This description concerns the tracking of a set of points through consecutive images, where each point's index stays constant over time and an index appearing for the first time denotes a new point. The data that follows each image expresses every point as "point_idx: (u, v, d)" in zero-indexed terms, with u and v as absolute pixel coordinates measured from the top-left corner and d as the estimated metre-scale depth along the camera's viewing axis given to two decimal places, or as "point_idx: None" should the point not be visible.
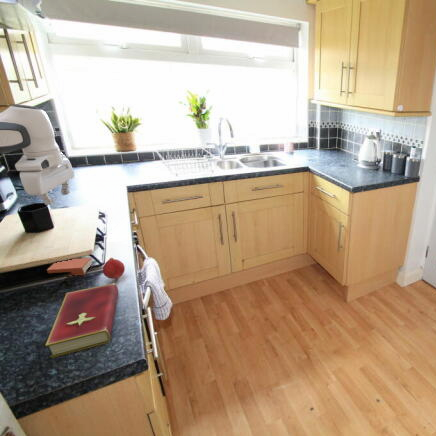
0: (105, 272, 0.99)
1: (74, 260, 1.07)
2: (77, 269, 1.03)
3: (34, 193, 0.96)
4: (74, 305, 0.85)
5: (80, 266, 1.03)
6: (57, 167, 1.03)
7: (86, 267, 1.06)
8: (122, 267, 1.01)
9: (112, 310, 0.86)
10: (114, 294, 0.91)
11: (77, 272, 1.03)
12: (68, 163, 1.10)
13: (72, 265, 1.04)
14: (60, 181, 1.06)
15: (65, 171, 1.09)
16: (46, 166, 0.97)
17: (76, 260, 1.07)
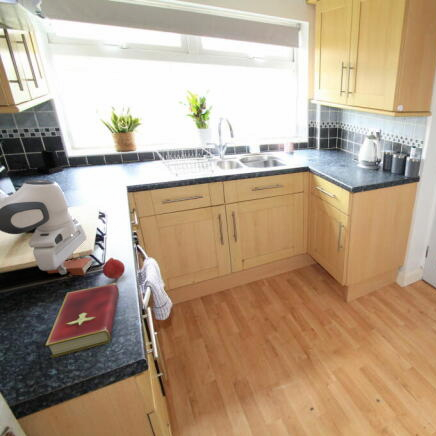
0: (105, 272, 0.99)
1: (74, 260, 1.07)
2: (77, 269, 1.03)
3: (47, 269, 0.94)
4: (75, 305, 0.85)
5: (80, 266, 1.04)
6: (70, 237, 1.01)
7: (86, 267, 1.06)
8: (122, 267, 1.01)
9: (112, 310, 0.86)
10: (114, 294, 0.91)
11: (77, 272, 1.03)
12: (80, 228, 1.09)
13: (72, 265, 1.04)
14: (73, 249, 1.04)
15: (77, 237, 1.07)
16: (60, 240, 0.96)
17: (76, 260, 1.07)
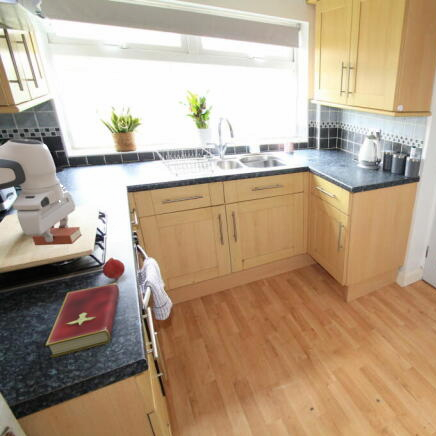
0: (105, 272, 0.99)
1: (62, 228, 1.01)
2: (65, 237, 0.98)
3: (32, 233, 0.89)
4: (75, 305, 0.85)
5: (68, 234, 0.98)
6: (57, 203, 0.96)
7: (74, 236, 1.01)
8: (122, 267, 1.01)
9: (112, 310, 0.86)
10: (115, 294, 0.91)
11: (64, 240, 0.98)
12: (69, 196, 1.04)
13: (60, 233, 0.99)
14: (60, 217, 0.99)
15: (66, 205, 1.02)
16: (46, 204, 0.91)
17: (64, 229, 1.01)
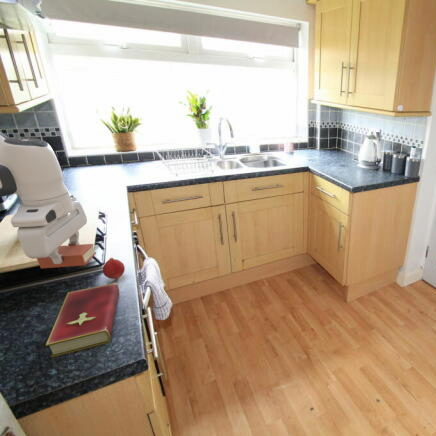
0: (105, 272, 0.99)
1: (72, 246, 0.84)
2: (76, 257, 0.80)
3: (37, 256, 0.72)
4: (75, 305, 0.85)
5: (80, 253, 0.81)
6: (66, 216, 0.78)
7: (87, 255, 0.83)
8: (122, 267, 1.01)
9: (113, 310, 0.86)
10: (115, 294, 0.91)
11: (76, 261, 0.81)
12: (79, 207, 0.86)
13: (70, 252, 0.82)
14: (70, 233, 0.81)
15: (76, 218, 0.84)
16: (52, 218, 0.73)
17: (74, 246, 0.84)
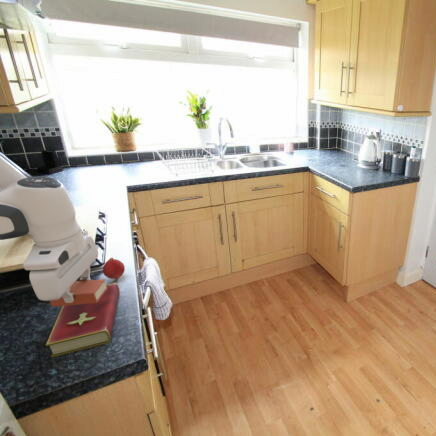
0: (105, 272, 0.99)
1: (83, 282, 0.82)
2: (88, 295, 0.79)
3: (49, 299, 0.70)
4: (76, 305, 0.85)
5: (91, 291, 0.79)
6: (78, 254, 0.77)
7: (99, 292, 0.82)
8: (122, 267, 1.01)
9: (113, 310, 0.86)
10: (115, 294, 0.91)
11: (88, 299, 0.79)
12: (91, 241, 0.85)
13: (82, 290, 0.80)
14: (82, 270, 0.80)
15: (87, 253, 0.83)
16: (65, 260, 0.71)
17: (86, 282, 0.83)
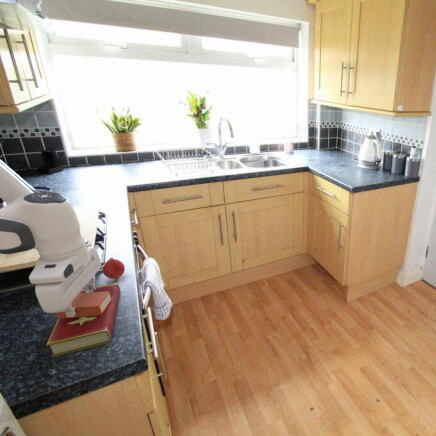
0: (105, 272, 0.99)
1: (88, 295, 0.84)
2: (93, 308, 0.80)
3: (54, 311, 0.72)
4: None
5: (97, 304, 0.81)
6: (82, 267, 0.78)
7: (104, 304, 0.83)
8: (122, 267, 1.01)
9: (113, 310, 0.86)
10: (116, 294, 0.91)
11: (93, 311, 0.81)
12: (94, 253, 0.86)
13: (87, 302, 0.82)
14: (85, 281, 0.81)
15: (91, 265, 0.84)
16: (70, 273, 0.73)
17: (91, 295, 0.84)
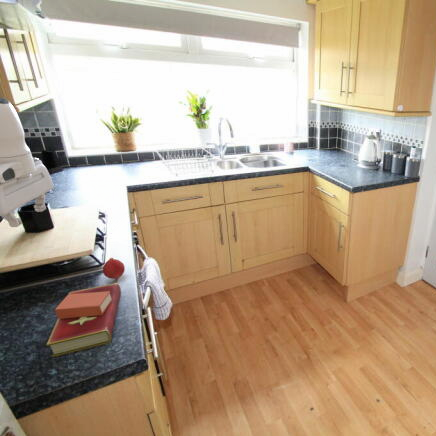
0: (105, 272, 0.99)
1: (89, 295, 0.84)
2: (93, 308, 0.80)
3: None
4: None
5: (97, 304, 0.81)
6: (27, 177, 0.78)
7: (104, 304, 0.83)
8: (122, 267, 1.01)
9: (114, 310, 0.86)
10: (116, 294, 0.91)
11: (93, 311, 0.81)
12: (44, 171, 0.86)
13: (87, 302, 0.82)
14: (32, 195, 0.81)
15: (40, 182, 0.84)
16: (10, 177, 0.72)
17: (91, 295, 0.84)
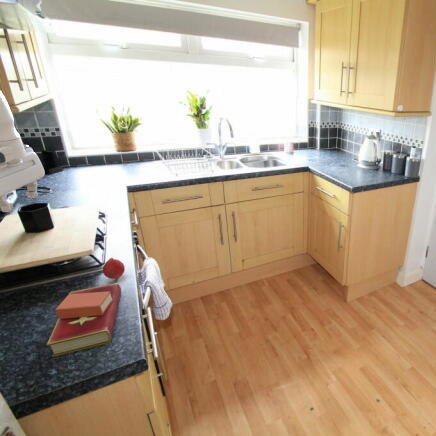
0: (105, 272, 0.99)
1: (89, 295, 0.84)
2: (94, 308, 0.80)
3: None
4: None
5: (98, 304, 0.81)
6: (18, 163, 0.79)
7: (105, 304, 0.83)
8: (122, 267, 1.01)
9: (114, 310, 0.86)
10: (117, 294, 0.91)
11: (94, 311, 0.81)
12: (35, 158, 0.87)
13: (88, 302, 0.82)
14: (23, 181, 0.82)
15: (31, 168, 0.85)
16: (1, 161, 0.74)
17: (92, 295, 0.84)
